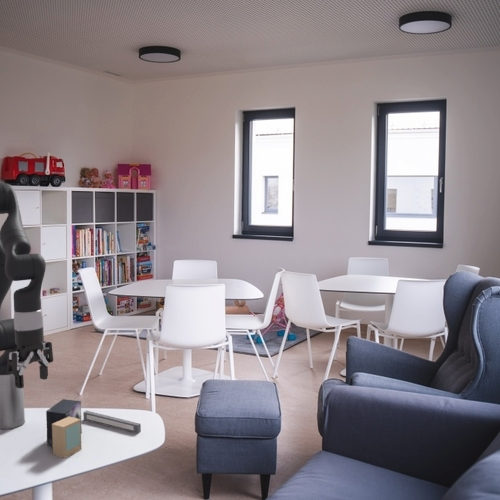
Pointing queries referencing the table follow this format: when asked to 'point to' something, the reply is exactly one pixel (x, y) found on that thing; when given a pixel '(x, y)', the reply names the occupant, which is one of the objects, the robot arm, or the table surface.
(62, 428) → the kraft carton
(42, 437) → the table surface
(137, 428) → the rail
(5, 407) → the robot arm
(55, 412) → the small box
